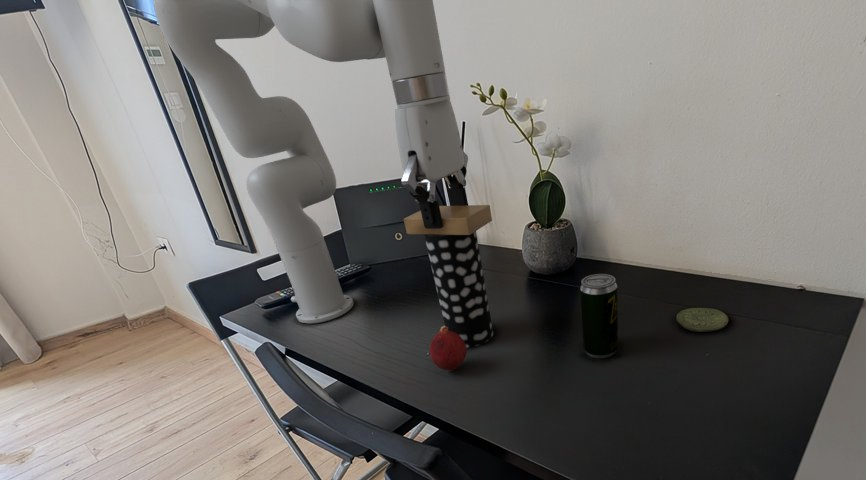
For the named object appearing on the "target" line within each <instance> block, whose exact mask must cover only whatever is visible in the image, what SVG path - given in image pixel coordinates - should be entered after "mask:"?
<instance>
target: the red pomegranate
mask: <svg viewBox="0 0 866 480" xmlns="http://www.w3.org/2000/svg"><path fill="white" fill-rule="evenodd" d="M467 350H468V348H466V345H465V342H464V340H463V339H462V338H461V337H460V336H459V335H458V334H456V333H454V332H452V331H448V327H447V326H445V325H442V326H441V327H440V329H439V331H438V332H437V333H436V334H435V336H434V337H433V338H432V339H431V341H430V344H429V354H430V355H429V357H430V359H431V361H432V362H433V364H434V365H435V366H436V367H437V368H439V369H442V370H445V371H449V372H450V371H451V372H453V371H454V372H455V371H456V370H457V368H458V367H460V366H461V365H462V364H463V363H464V361H465V359H466V357H467V352H468V351H467Z"/></svg>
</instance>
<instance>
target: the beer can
mask: <svg viewBox="0 0 866 480" xmlns="http://www.w3.org/2000/svg"><path fill="white" fill-rule="evenodd" d="M579 290H580V291H579V292H580V307H581V309H580V311H581V325H582V343H583V350H584V352H585V353H586V355H587V356H589V357H590V358H593V359H607V358H610V357H613V356H614V355H615V354H616V353H617V350H618V348H619V322H618V321H619V313H618V312H619V311H618V310H619V309H618V308H619V307H618V301H619V300H618V284H617V283H616V277H614V275H611V274H607V273H596V274H590V275H587V276H585V277H584V278H582V279H581V285H580V287H579Z"/></svg>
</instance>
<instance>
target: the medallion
mask: <svg viewBox="0 0 866 480" xmlns="http://www.w3.org/2000/svg"><path fill="white" fill-rule="evenodd" d="M675 319H676V322H677V323H678V324H679V325H680V326H681V327H682V328H683V329H685V330H688V331H690V332H694V333H695V332H696V333H711V332H712V333H713V332H716V331H721V330H723V329H724V328H725V327H727V325H728V324H729V317H728V315H727V314H726V313H725V312H723V311H722V310H720V309H716V308H712V307H710V308H709V307H691V308H685V309H682V310H680V311H679V312H677V315H676V318H675Z"/></svg>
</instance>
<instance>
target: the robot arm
mask: <svg viewBox="0 0 866 480" xmlns="http://www.w3.org/2000/svg"><path fill="white" fill-rule="evenodd" d="M152 2H153V9H154V13H155V17H156V20H157V23H158V27H159V28H160V31H161V33H162V35H163V38H164V39H165V40H166V42H167V44H168V46H169V47H170V49H171V50H172V52H173V53H174V55H175V56H176V58H177V59H178V60H179V62H180V63H181V64H182V65H183V67H184V68H185V69H186V70H187V72H188V73H189V74H190V76H191V77H192V78H193V80H194V81H195V83H196V84H197V86H198V88H199V90H201V92H202V94H203V96H204V98H205V100H206V102H207V104H208V105H209V107H210V109H211V111H212V113H213V115H214V117H215V119H216V120H217V122H218V124H219V126H220V128H221V129H222V131H223V133H224V134H225V135H224V136H225V137H226V139H227V140H228V142H229V143H230V145H231V146H232V148H233V149H234V151H235V152H236V153H237V154H238V155H239V156H241V157H243V158H246V159H258V158H264V157H268V156H271V155H276V154H280V153H284V152H286V153H287V154H288V156H289V157H286V158H280V159H277V160H274V161H270V162H267V163H263V164H261V165H258V166H257V167H255V168H253V169H252V170H251V171H250V172H249V174H248V175H247V177H246V182H245V183H246V184H245V185H246V186H245V187H246V191H247V194H248V196H249V198H250V200H251V201H252V203H253V205H254V206H255V208H256V210H257V212H258V213H259V215H260V216H261V218H262V219H263V220H262V221H264V223H265V225H266V227H267V229H268V231H269V233H270V236H271V238H272V240H273V243H274V246H275V248H276V250H277V252H278V255H279V257H280V261H281V262H282V264H283V268H284V270H285V272H286V275H287V277H288V280H289V282H290V285H291V287H292V290H293V292H294V295H292V296H291V297H290V301H291V302H292V303H297V305H298V310H296V313H295V317H296V319H297V321H298V322H299V323H302V324H319V323H325V322H327V321H332V320H334V319H337V318H339V317H341V316H344V315H345V314H346V313H348V312H349V311H350V310H351V309H352V308H353V306H354V300H353V297H351V296H349V295H347V294H344V292H343V289H342V286H341V284H340V281H339V278H338V275H337V272H336V269H335V266H334V264H333V260H332V258H331V254H330V252H329V249H328V246H327V243H326V241H325V238H324V235H323V232H322V230H321V228H320V226H319V224H318V223H317V222H316V221H315V220H314V219H312V217H310V216H309V214H308V213H306V212H305V211H304V209H306V208H308V207H310V206H312V205H315V204H319V203H321V202H324V201H326V200H329V199H331V197H332V196H334V194H335V192H336V191H337V178H336V175H335V172H334V169H333V166H332V164H331V162H330V160H329V157H328V155H327V153H326V151H325V149H324V146H323V145H322V143H321V140H320V138H319V136H318V134H317V131H316V130H315V127H314V125H313V123H312V122H311V120H310V118H309V116H308V114H307V113H306V111H305V110H304V108H302V106H301V105H300V104H299V103H298V102H296V101H295V100H294V99H292V98H290V97H287V96H281V95H276V96H269V97H261V96H260V95H259V93H258V91H257V90H256V89H255V87H254V85H253V83H252V81H251V79H250V76H249V75H248V73H247V72H246V70H245V69H244V67H243V66H242V65H241V64H240V63H239V62H238V60H236V59H235V58H234V57H233V56H232V55H231V54H230V53H229V52H228V51H226V50H225V49H224V48H222V47H220V46H219V44H217V42H216V40H240V39H242V40H243V39H256V38H260V37H263V36H266V35H267V34H269V33H270V31H272V29H274V27H275V28H276V29H277V31H278V33H279V34H280V35H281V36H282V38H283V39H284V40H285V41H286V42H288V43H289V44H290V45H292V46H294V47H296V48H298V50H302V51H304V52H306V53H307V54H309V55H312V56H314V57H316V58H319V59H321V60H324V61H328V62H331V63H332V62H333V63H346V62H353V61H361V60H377V59H384V58H385V60H386V64H387V69H388V74H389V78H390V81H391V85H392V90H393V95H394V99H395V103H396V108H395V109H394V120H395V121H394V122H395V131H396V138H397V145H398V151H399V157H400V162H401V167H402V171H403V174H402V177H401V181H400V182H401V185H402V186H403V187H404V188H405V189H406V190H407V191H408V192H409V194H410V195H411V196H412V197H413V198H414V201H415V203H417V204H418V205H419V209H420V210H421V214H422V218H423V223H424V227H425V228H427V229H440V228H442V227H443V223H442V217H441V212H440V208H439V206H440V204H439V203H440V202H439V200H435V198H436V183H437V181H440V180H442V179H444V180H445V182H446V183H447V186H448V188H446V192H447V197H448V202H449V206H465V205H469V202H468V197H467V191H466V187H467V180H466V176H467V173H468V172H467V171H468V170H467V167H468V162H469V156H468V154H467V153H466V152H465V151H463V145H462V140H461V134H460V129H459V125H458V123H457V122H458V121H457V118H456V115H455V111H454V108H453V105H452V102H451V95H450V91H449V90H450V89H449V84H448V79H447V73H446V66H445V62H444V57H443V56H444V55H443V50H442V45H441V39H440V33H439V28H438V23H437V17H436V12H435V6H434V1H433V0H152ZM424 186H427V188H426V189H425V188H424ZM420 210H419V211H420Z"/></svg>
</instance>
